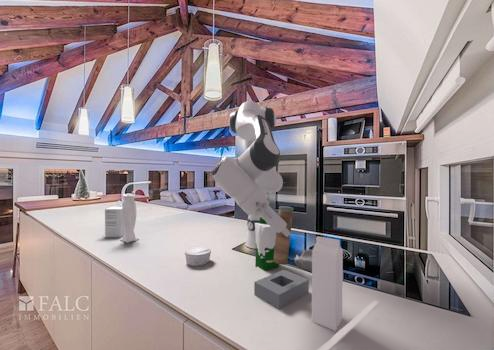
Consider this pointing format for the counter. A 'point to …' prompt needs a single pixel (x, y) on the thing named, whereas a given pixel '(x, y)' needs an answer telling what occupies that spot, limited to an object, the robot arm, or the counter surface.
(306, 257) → the dish
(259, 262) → the milk carton
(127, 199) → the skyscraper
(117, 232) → the supplement box
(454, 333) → the counter surface
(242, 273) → the counter surface
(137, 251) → the counter surface
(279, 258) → the peg
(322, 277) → the milk
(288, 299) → the socket block
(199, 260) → the ramekin
